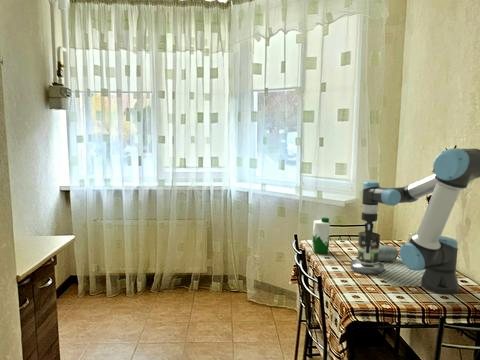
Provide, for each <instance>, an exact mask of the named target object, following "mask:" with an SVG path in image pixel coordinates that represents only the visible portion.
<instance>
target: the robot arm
mask: <svg viewBox="0 0 480 360" xmlns="http://www.w3.org/2000/svg"><path fill="white" fill-rule="evenodd" d="M432 168H433V173H432V174H430V175H427V176H425V177H423V178H420V179H418V180H417V181H414V182H411V183H409V184H408V185H405V186H401V187H381V186H380V183H379V182H377V181H370V180H369V181H364V182H363V185H362V201H361V202H362V203H361V204H360V207H361V221H363V222H365V223H364V228H365V229H364V232H365V233H366V240H365V245H364V246H365V255H364V259H369V260H370V252H371V234H372V232H373V229H374V223H373V222H375V223H376V222H377V221H378V212H379V204H381V205H382V204H383V205H387V206H392V207H393V206H397V205H398V204H404V203H405V204H407V203H413V202H417V201H418V200H419V198H423V197H424V196H427V195H430V194H431V196H430V199H429V201H428V204H427V206H426V208H425V211H424V214H423V216H422V219H421V222H420V225H419V226H418V229H417V232H413V233H412V234H411V236H410V238H409V241H408V242H405V243H403V244H402V245H401V246H400V248H399V258H400V259H401V262H402V263H403V266H405V267H406V268H407V269H409V270H410V271H423V270H424V272H423V274H422V277H421V279H420V286H421V287H422V288H423V289H425V290H427V291H429V292H432V293H437V294H442V295H454V294H455V295H456V294H458V293H459V291H460V284H459V281H458V277H457V263H458V261H457V260H458V250H459V247H458V246H459V245H458V244H459V242H458V241H457V239H455V238H453V237H449V236H444V235H443V231H444V229H445V227H446V224H447V222H448V220H449V217H451V216H450V215H451V213H452V210H453V208H454V206H455V203H456V201H457V199H458V197H459V195H460V193H461V191H462V190H465V189H467V187H468V186H469V183H470V181H473V180H475V179H479V178H480V149H479V148H459V147H458V148H457V147H456V148H455V147H454V148H449V149H445V150H442V151H441V152H440V153H439V154H438V155H437V156H435V158H434V160H433V164H432ZM367 243H368V244H367Z"/></svg>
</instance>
